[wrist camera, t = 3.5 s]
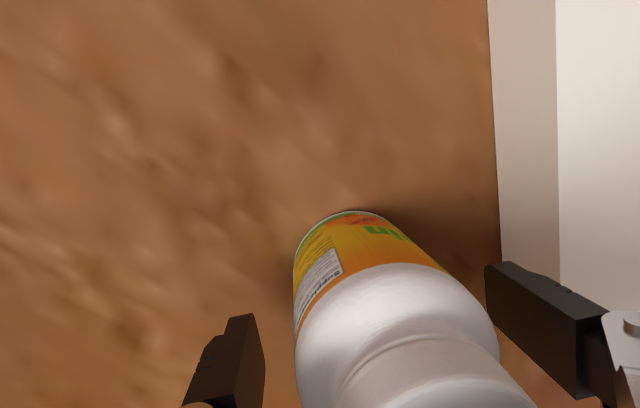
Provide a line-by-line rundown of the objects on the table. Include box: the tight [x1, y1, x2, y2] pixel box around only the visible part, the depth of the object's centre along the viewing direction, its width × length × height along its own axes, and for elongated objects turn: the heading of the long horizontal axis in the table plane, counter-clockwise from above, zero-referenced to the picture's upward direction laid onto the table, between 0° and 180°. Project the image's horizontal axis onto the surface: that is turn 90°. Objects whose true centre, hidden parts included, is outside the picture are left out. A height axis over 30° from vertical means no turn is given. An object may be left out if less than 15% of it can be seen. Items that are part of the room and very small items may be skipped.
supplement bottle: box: [293, 211, 538, 408], centre depth 11 cm, size 5×5×10 cm
